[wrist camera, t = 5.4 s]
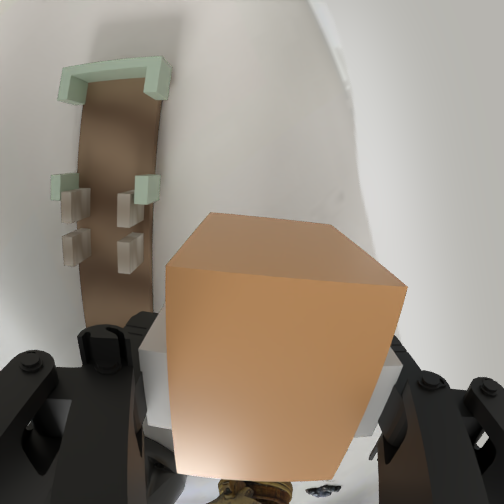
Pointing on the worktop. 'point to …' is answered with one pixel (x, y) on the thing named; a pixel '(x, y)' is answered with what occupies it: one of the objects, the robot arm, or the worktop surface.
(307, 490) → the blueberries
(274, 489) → the wooden mug
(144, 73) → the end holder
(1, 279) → the worktop surface
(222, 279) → the plug
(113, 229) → the board
